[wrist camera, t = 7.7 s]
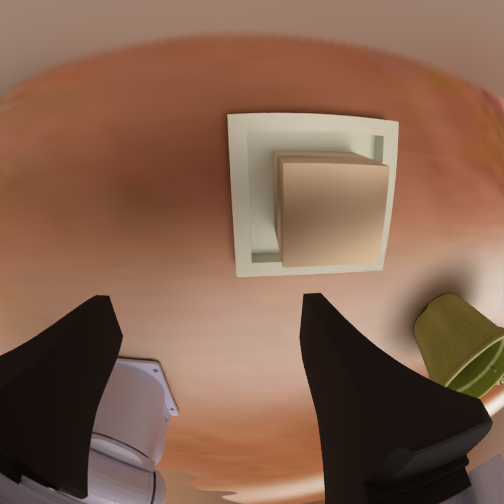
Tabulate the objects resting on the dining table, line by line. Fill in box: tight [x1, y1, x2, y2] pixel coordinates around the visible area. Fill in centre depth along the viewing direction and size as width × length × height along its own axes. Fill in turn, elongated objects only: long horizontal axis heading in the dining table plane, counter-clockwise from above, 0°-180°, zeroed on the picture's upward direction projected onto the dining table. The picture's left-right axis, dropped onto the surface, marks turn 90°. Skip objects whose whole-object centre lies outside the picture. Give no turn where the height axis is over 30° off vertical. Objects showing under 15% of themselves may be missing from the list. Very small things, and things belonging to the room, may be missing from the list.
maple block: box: [273, 151, 390, 268], centre depth 15 cm, size 5×5×5 cm
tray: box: [227, 113, 398, 277], centre depth 17 cm, size 10×10×2 cm
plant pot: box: [414, 293, 504, 398], centre depth 19 cm, size 9×9×9 cm
